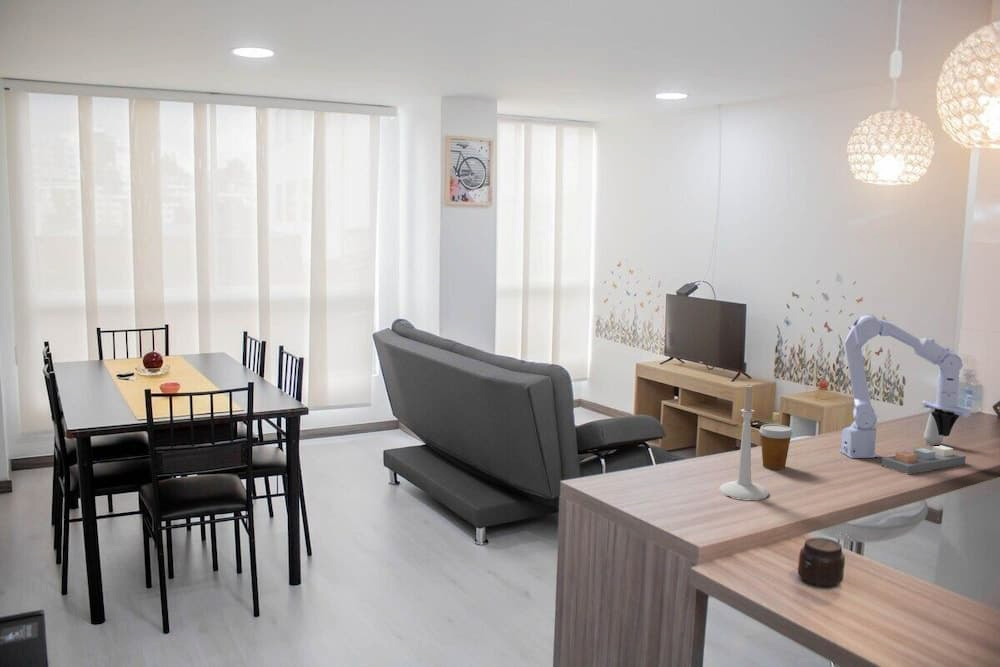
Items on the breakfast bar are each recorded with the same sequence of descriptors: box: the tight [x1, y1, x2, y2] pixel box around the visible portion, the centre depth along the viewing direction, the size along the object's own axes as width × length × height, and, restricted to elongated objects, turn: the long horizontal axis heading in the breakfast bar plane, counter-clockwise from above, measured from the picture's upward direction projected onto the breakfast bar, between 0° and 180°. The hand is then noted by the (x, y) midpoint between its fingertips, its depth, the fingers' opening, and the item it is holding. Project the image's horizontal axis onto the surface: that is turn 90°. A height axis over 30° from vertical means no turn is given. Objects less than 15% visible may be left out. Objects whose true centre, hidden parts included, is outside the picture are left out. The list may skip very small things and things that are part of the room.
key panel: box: [881, 452, 967, 475], centre depth 251 cm, size 25×9×2 cm, turn 115°
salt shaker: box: [923, 408, 944, 446], centre depth 273 cm, size 6×6×13 cm
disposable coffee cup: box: [758, 423, 794, 470], centre depth 248 cm, size 10×10×12 cm
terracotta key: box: [895, 450, 917, 463], centre depth 247 cm, size 4×4×2 cm
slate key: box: [913, 447, 935, 460], centre depth 251 cm, size 4×4×2 cm
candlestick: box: [718, 384, 769, 501], centre depth 224 cm, size 13×13×30 cm
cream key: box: [931, 444, 954, 457], centre depth 254 cm, size 4×4×2 cm
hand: (943, 435), depth 253 cm, fingers closed
